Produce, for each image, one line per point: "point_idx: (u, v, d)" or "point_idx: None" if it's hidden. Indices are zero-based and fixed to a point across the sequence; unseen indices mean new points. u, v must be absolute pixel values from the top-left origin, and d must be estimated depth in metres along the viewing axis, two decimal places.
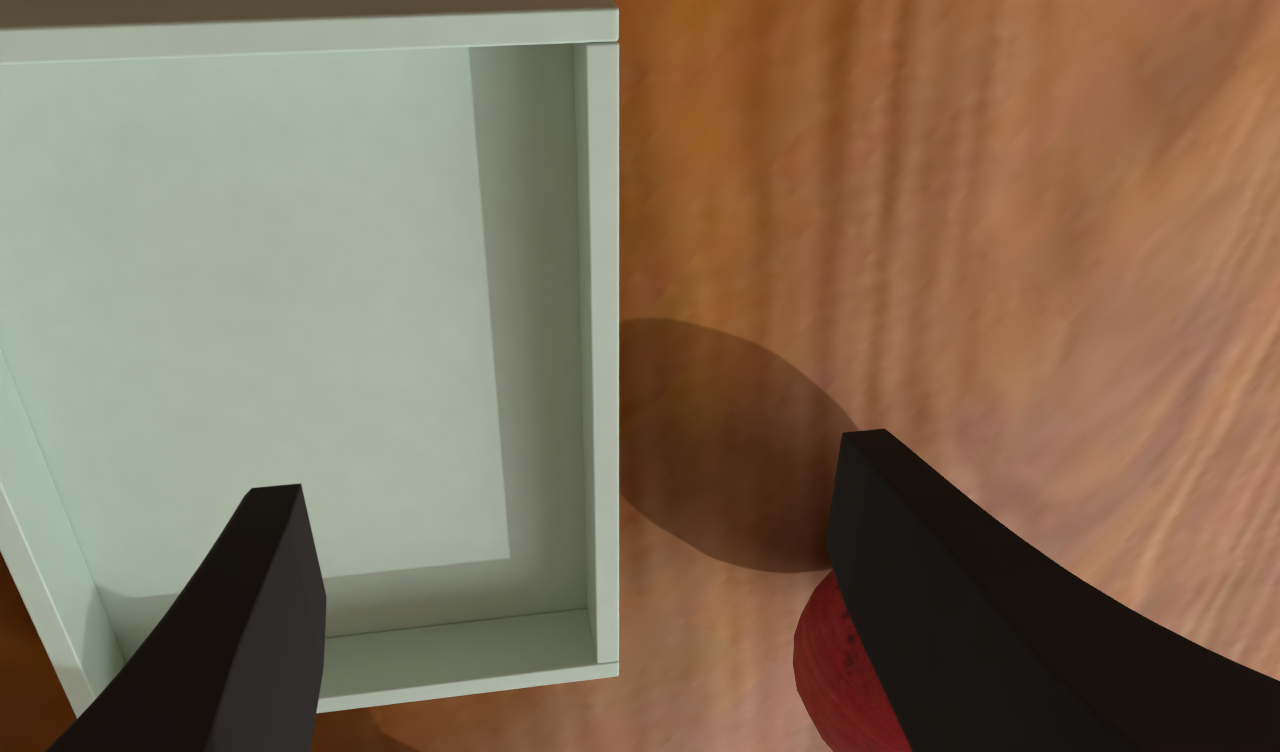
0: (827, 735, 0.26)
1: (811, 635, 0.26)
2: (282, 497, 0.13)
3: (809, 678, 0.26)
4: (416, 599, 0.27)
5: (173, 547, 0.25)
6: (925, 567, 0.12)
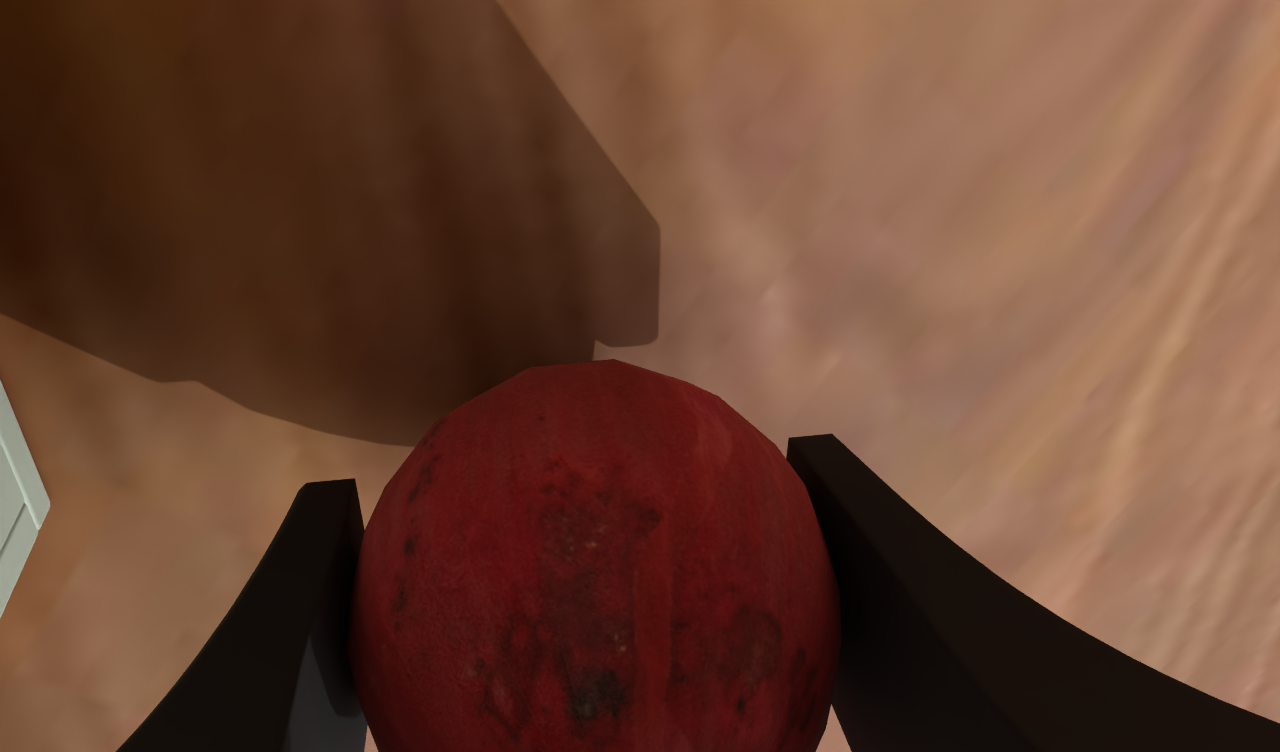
0: None
1: (361, 548, 0.12)
2: (337, 492, 0.13)
3: (349, 643, 0.12)
4: None
5: None
6: (863, 574, 0.12)
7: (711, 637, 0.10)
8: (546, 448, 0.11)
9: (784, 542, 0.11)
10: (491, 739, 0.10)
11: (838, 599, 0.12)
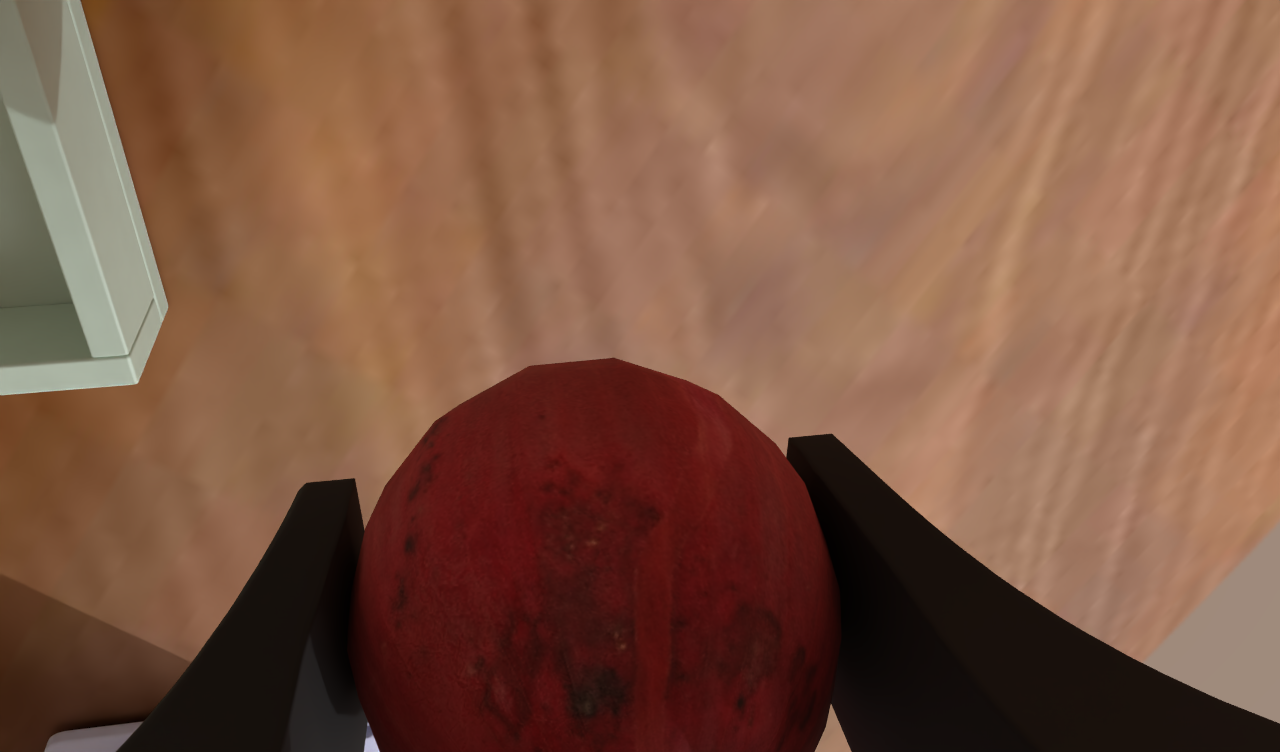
0: None
1: (362, 546, 0.12)
2: (337, 491, 0.13)
3: (350, 642, 0.12)
4: None
5: None
6: (863, 574, 0.12)
7: (711, 635, 0.10)
8: (546, 447, 0.11)
9: (784, 541, 0.11)
10: (490, 737, 0.10)
11: (838, 597, 0.12)
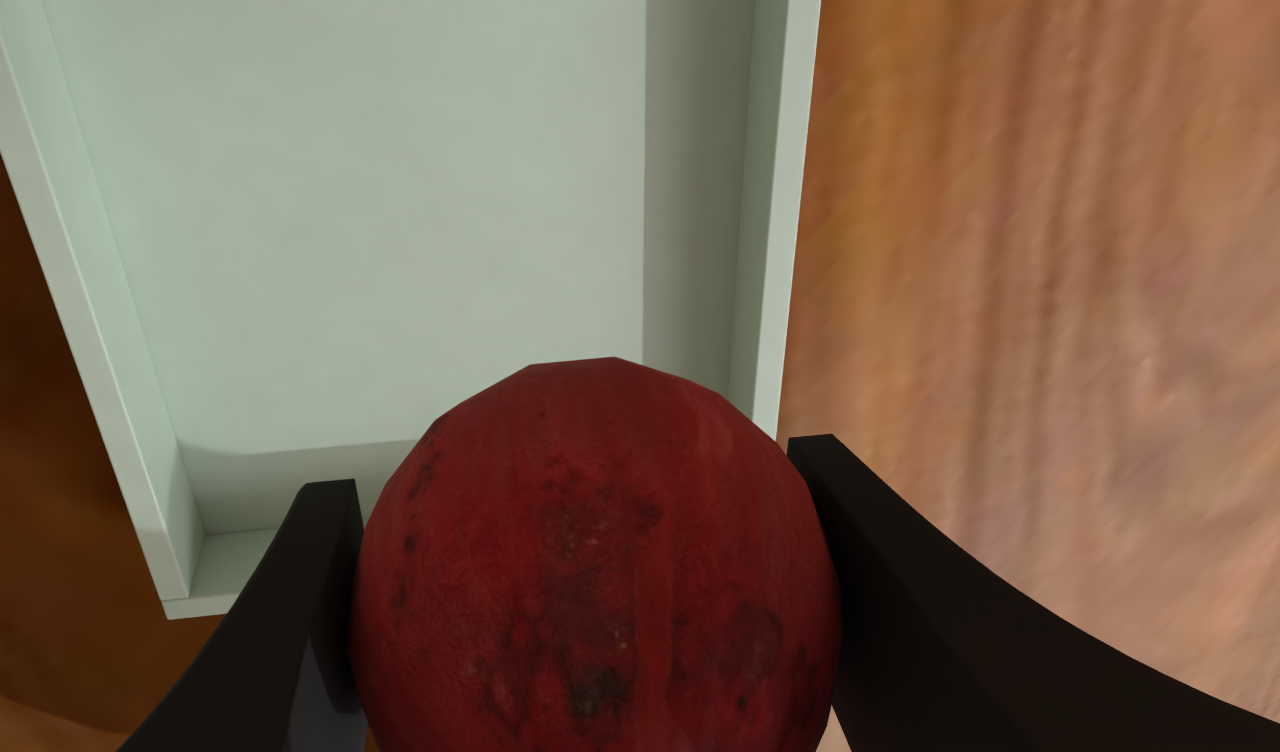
0: None
1: (362, 545, 0.12)
2: (337, 491, 0.13)
3: (349, 639, 0.12)
4: None
5: (266, 394, 0.22)
6: (863, 574, 0.12)
7: (712, 635, 0.10)
8: (545, 445, 0.11)
9: (785, 541, 0.11)
10: (492, 737, 0.10)
11: (839, 597, 0.12)
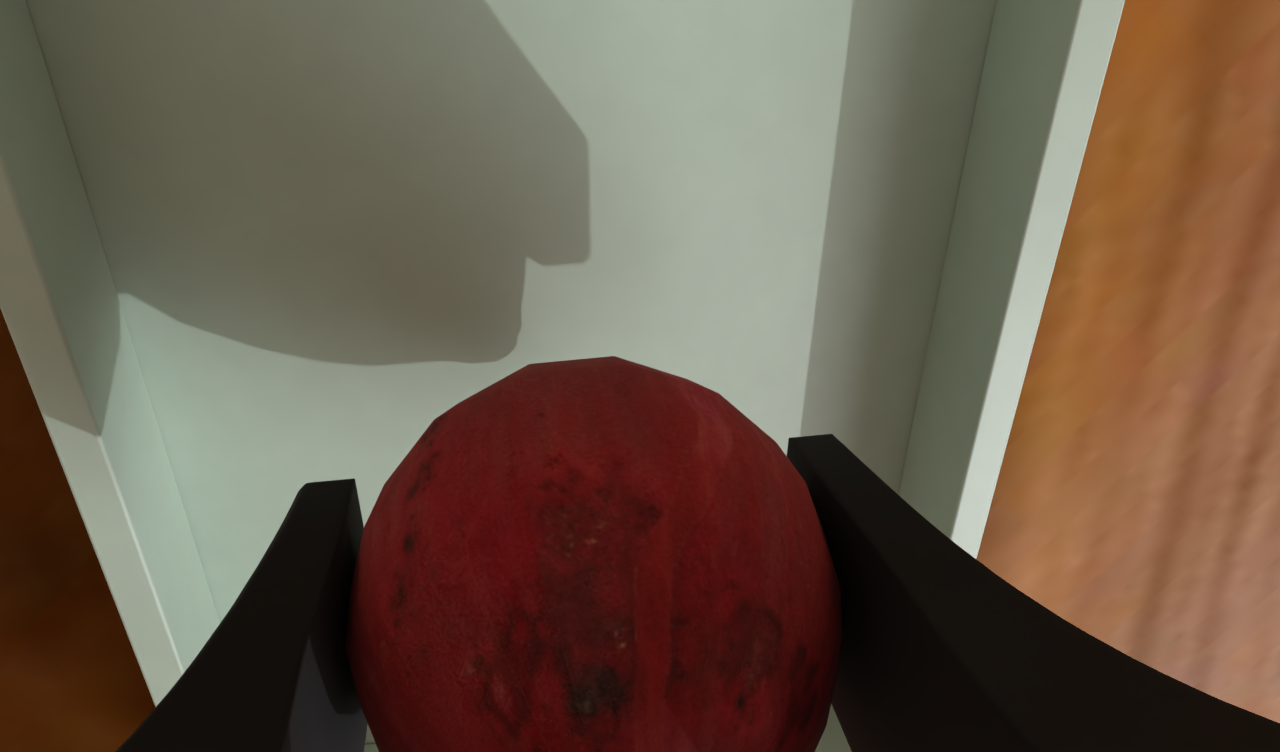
0: None
1: (361, 545, 0.12)
2: (337, 492, 0.13)
3: (348, 641, 0.12)
4: None
5: None
6: (863, 574, 0.12)
7: (712, 634, 0.10)
8: (545, 445, 0.11)
9: (785, 540, 0.11)
10: (490, 736, 0.10)
11: (838, 596, 0.12)
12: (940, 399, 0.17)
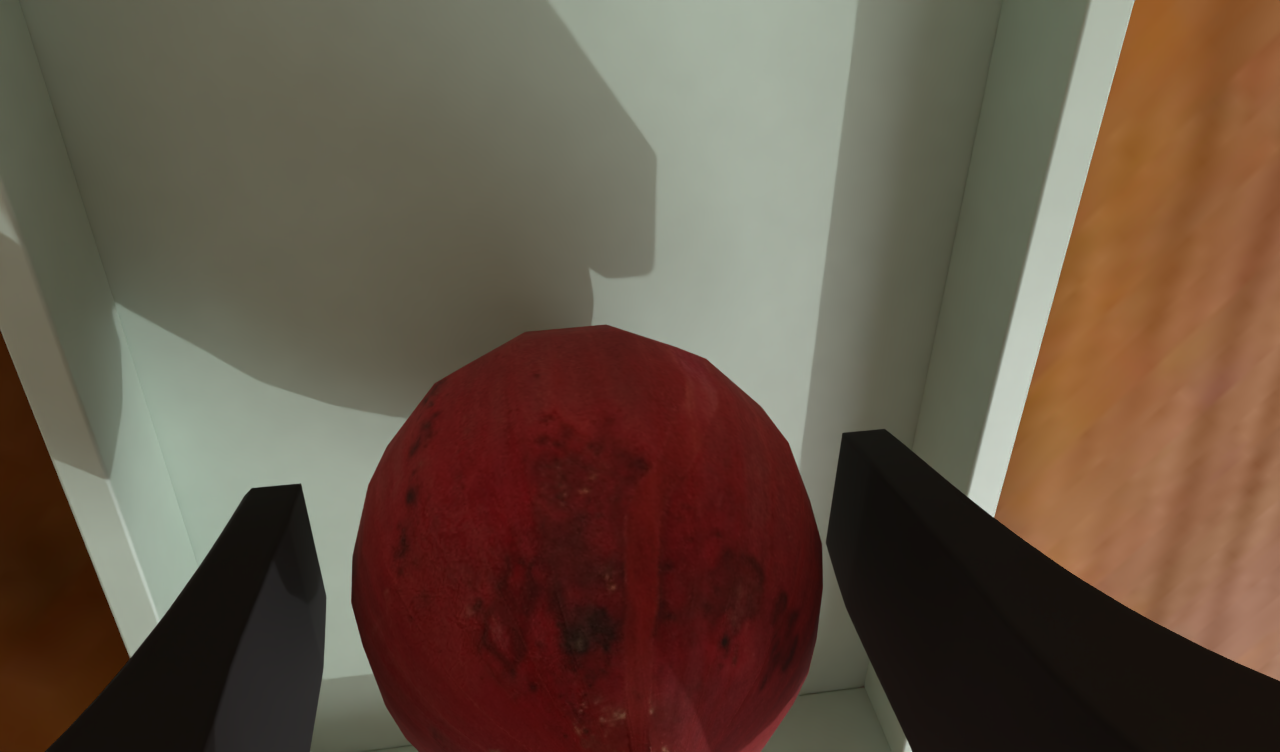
0: (391, 715, 0.12)
1: (365, 502, 0.12)
2: (282, 497, 0.13)
3: (354, 593, 0.12)
4: None
5: (341, 617, 0.18)
6: (925, 567, 0.12)
7: (696, 577, 0.10)
8: (540, 403, 0.11)
9: (767, 493, 0.11)
10: (489, 675, 0.10)
11: (820, 551, 0.13)
12: (944, 405, 0.17)
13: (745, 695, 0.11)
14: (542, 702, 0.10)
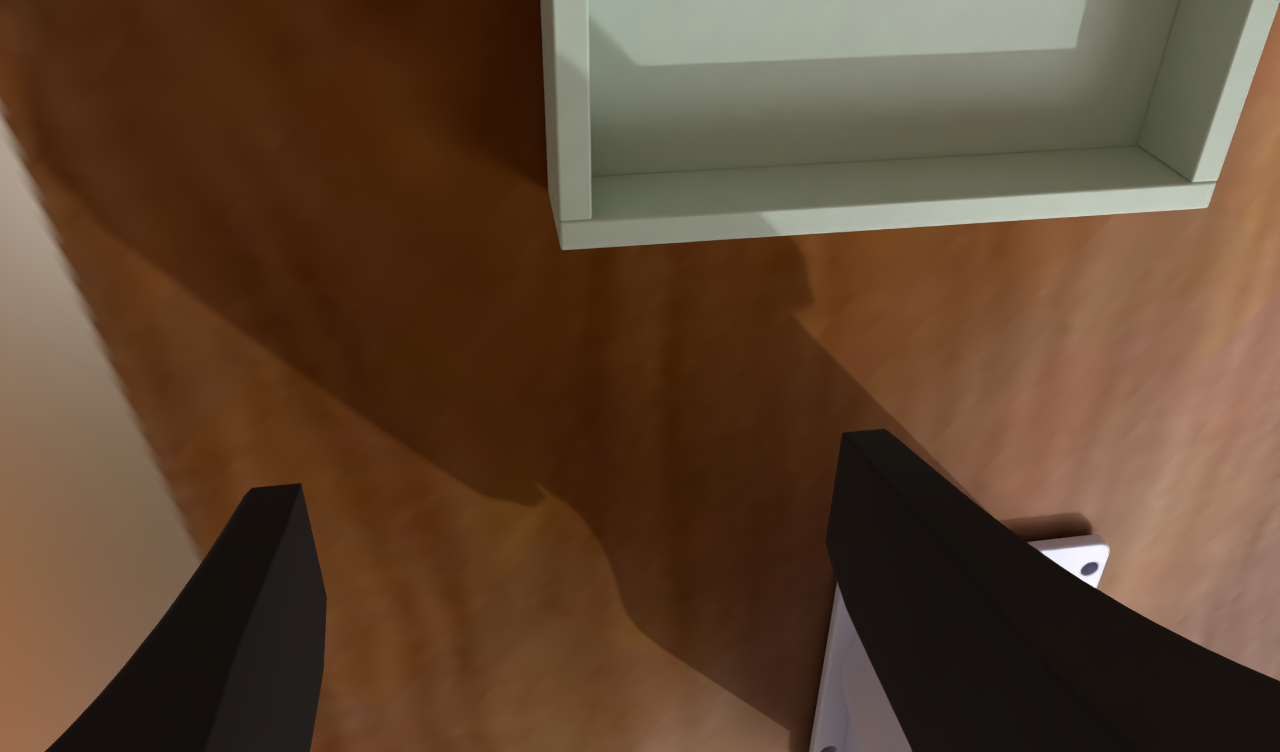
0: None
1: None
2: (282, 496, 0.13)
3: None
4: (946, 108, 0.21)
5: None
6: (925, 567, 0.12)
7: None
8: None
9: None
10: None
11: None
12: None
13: None
14: None
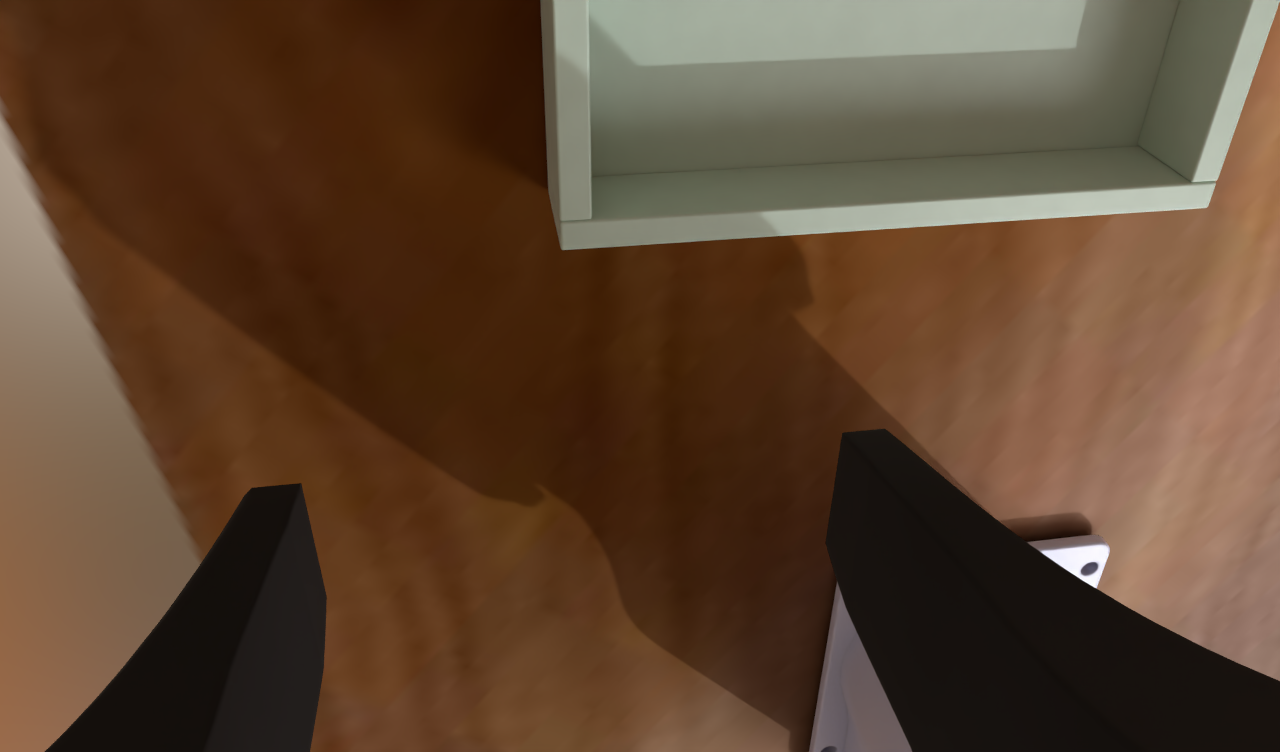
0: None
1: None
2: (282, 496, 0.13)
3: None
4: (946, 108, 0.21)
5: None
6: (925, 567, 0.12)
7: None
8: None
9: None
10: None
11: None
12: None
13: None
14: None
